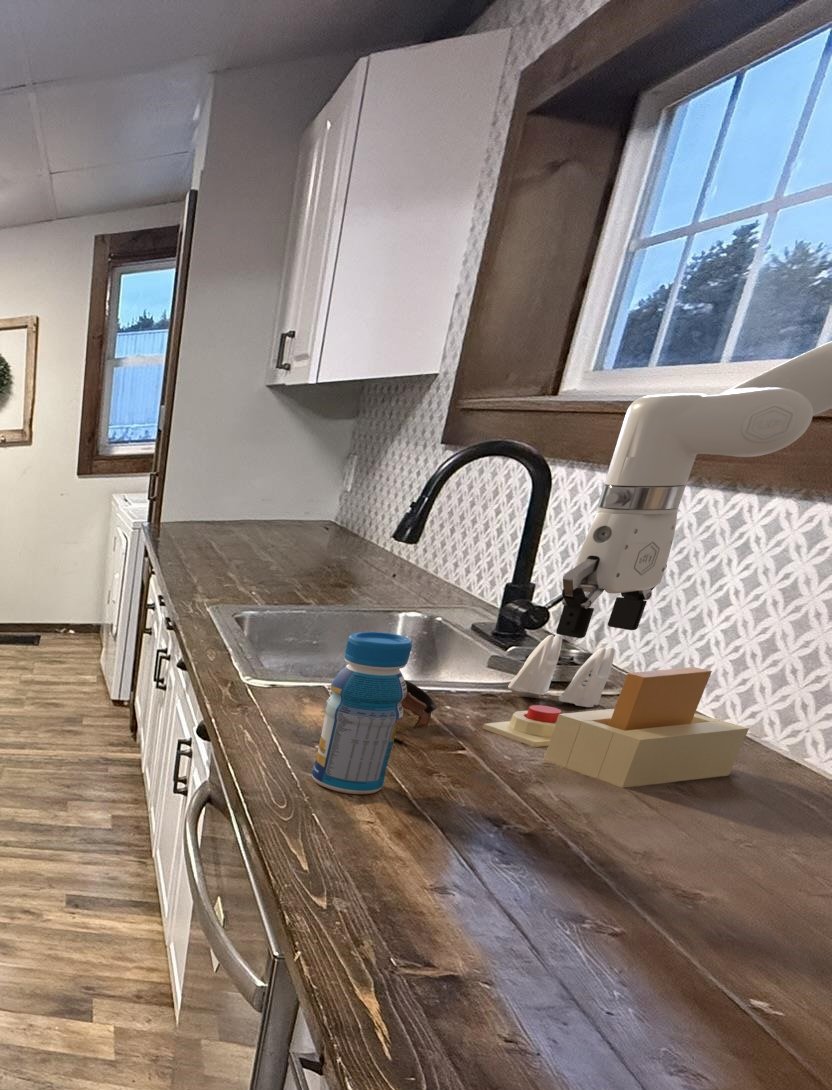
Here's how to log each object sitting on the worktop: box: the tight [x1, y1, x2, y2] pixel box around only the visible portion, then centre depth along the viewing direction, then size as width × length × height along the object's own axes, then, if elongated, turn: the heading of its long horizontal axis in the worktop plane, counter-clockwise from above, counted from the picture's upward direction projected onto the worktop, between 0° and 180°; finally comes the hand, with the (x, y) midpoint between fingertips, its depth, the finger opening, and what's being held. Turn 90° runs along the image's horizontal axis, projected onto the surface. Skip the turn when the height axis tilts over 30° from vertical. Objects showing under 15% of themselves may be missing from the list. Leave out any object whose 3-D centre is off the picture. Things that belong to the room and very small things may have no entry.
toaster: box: [543, 708, 750, 788], centre depth 107 cm, size 16×10×8 cm, turn 99°
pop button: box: [526, 704, 563, 723], centre depth 119 cm, size 4×4×2 cm
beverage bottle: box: [311, 631, 413, 795], centre depth 106 cm, size 8×8×20 cm
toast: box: [609, 666, 713, 731], centre depth 106 cm, size 10×2×13 cm, turn 99°
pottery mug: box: [401, 679, 438, 728], centre depth 128 cm, size 12×10×8 cm
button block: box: [482, 710, 556, 748], centre depth 120 cm, size 10×8×4 cm
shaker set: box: [507, 633, 616, 708], centre depth 135 cm, size 12×4×11 cm, turn 52°
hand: (596, 632), depth 111 cm, fingers open, 9 cm apart
